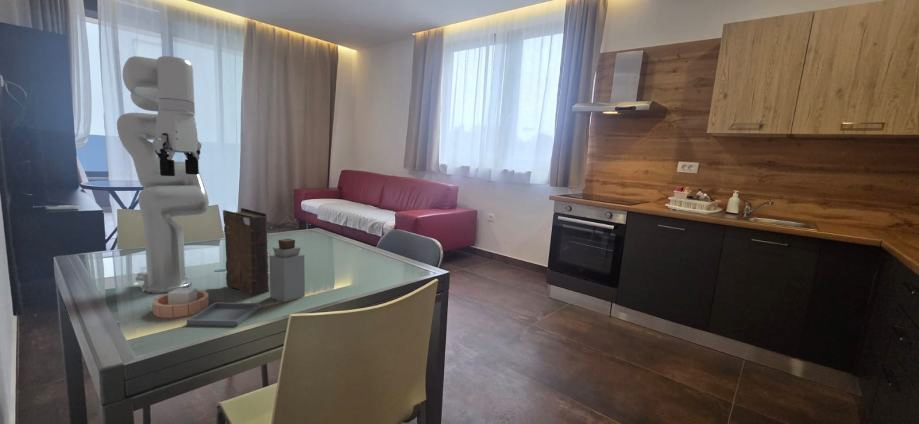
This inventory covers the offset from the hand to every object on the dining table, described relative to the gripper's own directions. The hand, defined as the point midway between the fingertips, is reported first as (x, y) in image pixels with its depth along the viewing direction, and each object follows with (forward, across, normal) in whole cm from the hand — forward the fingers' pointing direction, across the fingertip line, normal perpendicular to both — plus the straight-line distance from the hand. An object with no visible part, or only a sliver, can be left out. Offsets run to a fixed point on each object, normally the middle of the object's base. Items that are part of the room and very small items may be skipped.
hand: (180, 175), depth 104 cm
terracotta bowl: (+36, +3, 0) cm, 36 cm away
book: (+36, -15, +9) cm, 40 cm away
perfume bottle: (+36, -8, +24) cm, 44 cm away
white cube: (+36, +3, +1) cm, 36 cm away
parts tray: (+36, +7, +14) cm, 40 cm away
